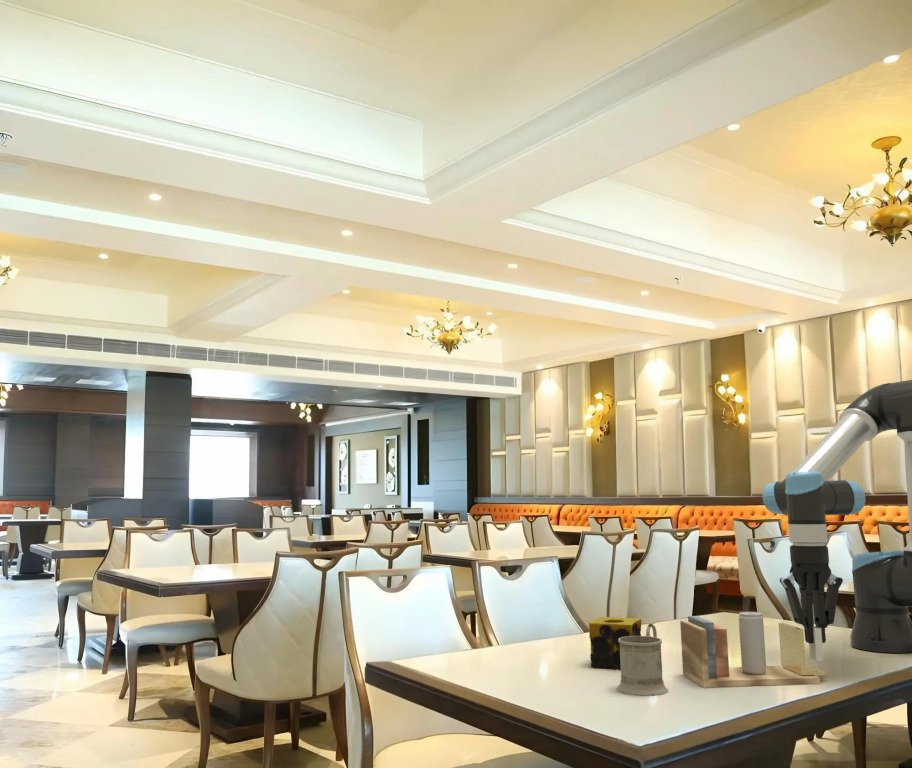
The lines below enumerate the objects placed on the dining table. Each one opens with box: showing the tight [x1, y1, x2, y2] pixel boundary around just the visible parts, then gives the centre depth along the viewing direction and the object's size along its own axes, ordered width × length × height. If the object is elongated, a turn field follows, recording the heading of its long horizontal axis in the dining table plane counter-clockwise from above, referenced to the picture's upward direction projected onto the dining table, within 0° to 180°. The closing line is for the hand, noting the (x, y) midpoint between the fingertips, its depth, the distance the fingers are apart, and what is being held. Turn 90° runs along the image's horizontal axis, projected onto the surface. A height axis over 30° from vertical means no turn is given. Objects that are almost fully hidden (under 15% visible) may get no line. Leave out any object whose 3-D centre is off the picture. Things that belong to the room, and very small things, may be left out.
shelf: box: [679, 615, 821, 689], centre depth 171 cm, size 24×12×12 cm, turn 94°
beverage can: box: [738, 611, 767, 675], centre depth 171 cm, size 5×5×12 cm
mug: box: [616, 622, 669, 697], centre depth 165 cm, size 14×10×12 cm
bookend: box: [778, 622, 826, 676], centre depth 171 cm, size 5×9×9 cm, turn 4°
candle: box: [588, 616, 642, 671], centre depth 187 cm, size 10×10×10 cm
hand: (816, 659), depth 171 cm, fingers closed
